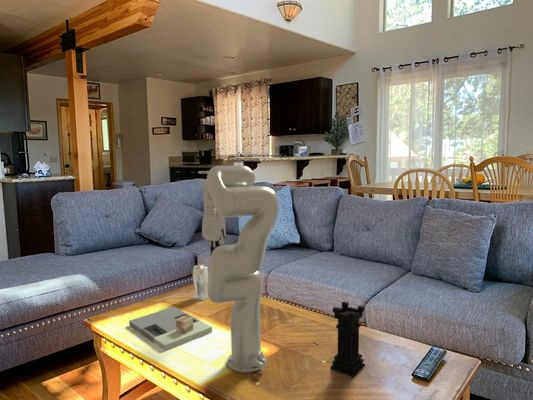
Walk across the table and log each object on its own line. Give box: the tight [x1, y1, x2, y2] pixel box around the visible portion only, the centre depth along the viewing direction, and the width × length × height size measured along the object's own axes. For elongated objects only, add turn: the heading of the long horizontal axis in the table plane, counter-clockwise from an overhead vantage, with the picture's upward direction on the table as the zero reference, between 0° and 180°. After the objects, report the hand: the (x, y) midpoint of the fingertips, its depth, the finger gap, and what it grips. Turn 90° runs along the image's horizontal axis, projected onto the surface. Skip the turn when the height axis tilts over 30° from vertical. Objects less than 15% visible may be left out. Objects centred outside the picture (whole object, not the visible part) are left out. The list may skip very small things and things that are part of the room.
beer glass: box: [192, 264, 209, 301], centre depth 189 cm, size 7×7×15 cm
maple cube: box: [176, 316, 193, 334], centre depth 152 cm, size 4×4×4 cm
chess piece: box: [330, 301, 366, 378], centre depth 128 cm, size 8×8×20 cm
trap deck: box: [128, 306, 213, 351], centre depth 158 cm, size 28×20×2 cm
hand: (215, 256), depth 161 cm, fingers closed
